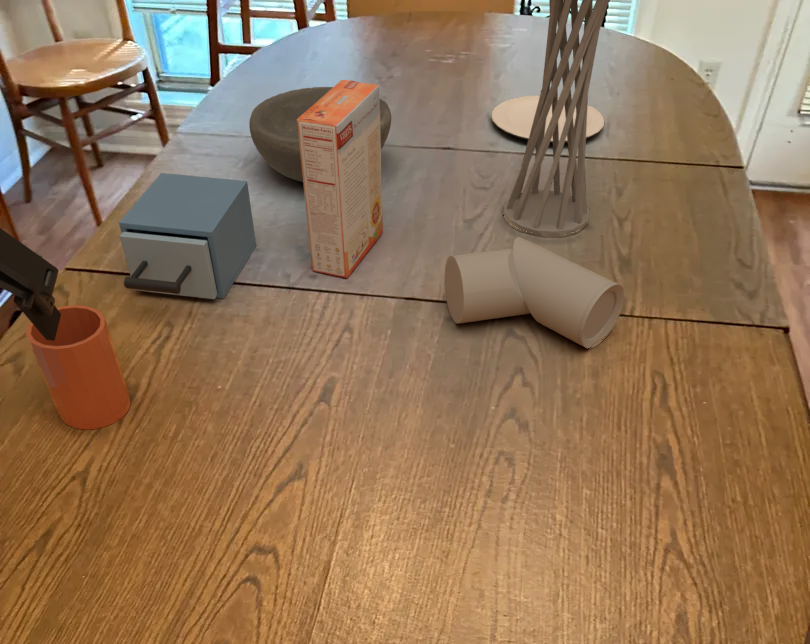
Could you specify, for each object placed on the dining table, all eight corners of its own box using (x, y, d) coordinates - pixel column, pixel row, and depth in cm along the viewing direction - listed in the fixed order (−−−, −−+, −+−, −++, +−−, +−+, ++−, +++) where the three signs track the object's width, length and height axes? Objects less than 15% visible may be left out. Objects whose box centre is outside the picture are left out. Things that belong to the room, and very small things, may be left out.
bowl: (293, 135, 142) (288, 74, 135) (409, 155, 137) (410, 93, 129) (230, 188, 128) (220, 124, 120) (356, 214, 123) (354, 148, 115)
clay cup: (47, 425, 90) (12, 343, 81) (78, 382, 95) (48, 301, 86) (113, 433, 89) (84, 352, 80) (141, 390, 94) (117, 309, 86)
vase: (535, 188, 129) (572, -77, 103) (605, 214, 124) (662, -59, 97) (485, 217, 123) (510, -58, 96) (556, 247, 117) (604, -37, 91)
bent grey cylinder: (575, 266, 111) (439, 284, 107) (596, 203, 102) (448, 219, 98) (620, 361, 103) (475, 383, 99) (647, 301, 94) (488, 324, 90)
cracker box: (347, 227, 120) (340, 76, 104) (384, 234, 119) (382, 83, 103) (308, 272, 112) (294, 115, 96) (347, 280, 110) (339, 123, 94)
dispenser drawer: (200, 323, 101) (188, 268, 96) (116, 313, 103) (100, 258, 97) (245, 249, 114) (237, 196, 108) (171, 241, 115) (159, 188, 109)
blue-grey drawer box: (224, 299, 107) (211, 231, 100) (136, 289, 108) (118, 222, 101) (256, 245, 116) (247, 180, 109) (175, 237, 118) (161, 172, 110)
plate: (565, 97, 155) (566, 88, 154) (625, 138, 143) (627, 128, 141) (471, 113, 149) (471, 103, 148) (525, 157, 137) (526, 147, 136)
